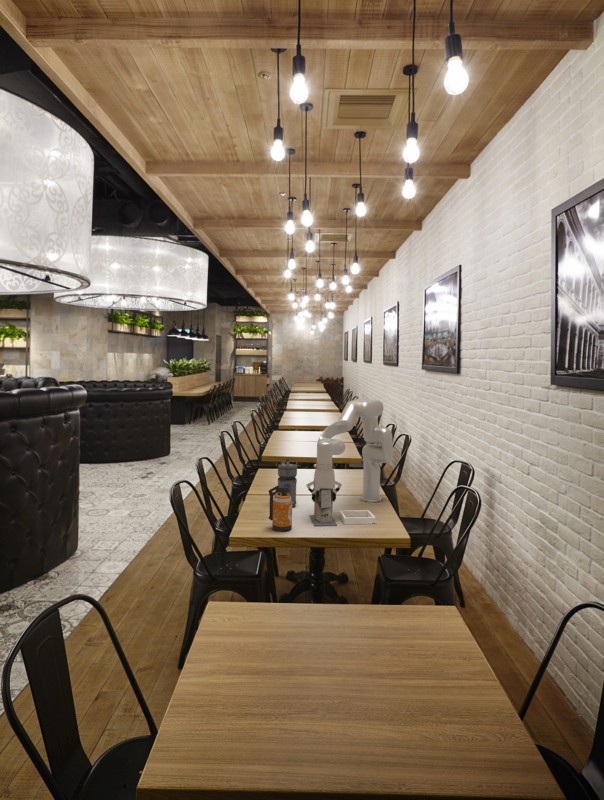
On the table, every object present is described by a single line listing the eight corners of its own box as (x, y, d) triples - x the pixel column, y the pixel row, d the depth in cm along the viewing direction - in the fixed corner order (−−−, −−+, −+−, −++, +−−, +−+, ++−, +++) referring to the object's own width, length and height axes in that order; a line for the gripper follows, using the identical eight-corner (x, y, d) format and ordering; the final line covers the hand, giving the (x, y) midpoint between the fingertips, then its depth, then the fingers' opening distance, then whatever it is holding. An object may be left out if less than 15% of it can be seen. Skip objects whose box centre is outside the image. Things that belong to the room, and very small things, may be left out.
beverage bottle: (295, 501, 278) (296, 457, 276) (296, 509, 265) (297, 462, 263) (277, 501, 278) (278, 456, 276) (277, 508, 264) (277, 461, 262)
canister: (289, 532, 228) (290, 489, 227) (265, 530, 230) (266, 487, 229) (293, 526, 237) (294, 484, 235) (270, 524, 239) (271, 482, 238)
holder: (338, 516, 254) (339, 510, 254) (368, 515, 256) (368, 510, 256) (344, 524, 242) (344, 518, 241) (375, 523, 244) (375, 517, 243)
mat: (309, 515, 254) (309, 515, 254) (330, 515, 255) (330, 514, 255) (314, 526, 238) (314, 525, 238) (337, 525, 239) (337, 524, 239)
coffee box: (332, 522, 244) (333, 489, 242) (320, 523, 241) (321, 490, 240) (325, 516, 252) (326, 484, 251) (313, 517, 250) (314, 485, 249)
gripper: (307, 468, 240) (307, 503, 241) (343, 468, 242) (342, 503, 244) (305, 465, 247) (305, 499, 249) (340, 464, 249) (339, 498, 251)
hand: (323, 501), depth 246 cm, fingers open, 9 cm apart
